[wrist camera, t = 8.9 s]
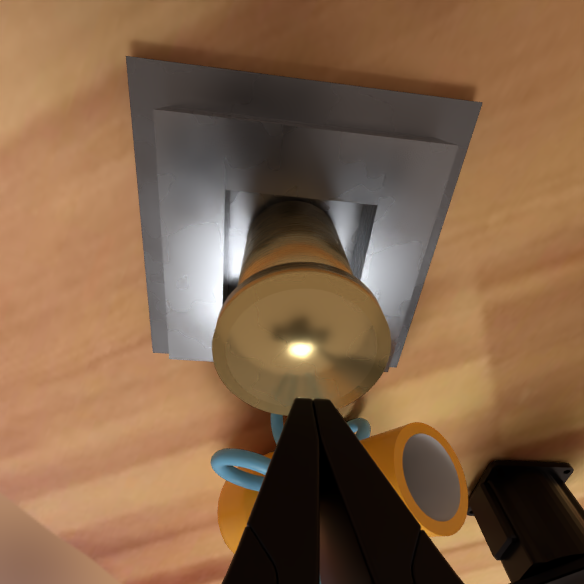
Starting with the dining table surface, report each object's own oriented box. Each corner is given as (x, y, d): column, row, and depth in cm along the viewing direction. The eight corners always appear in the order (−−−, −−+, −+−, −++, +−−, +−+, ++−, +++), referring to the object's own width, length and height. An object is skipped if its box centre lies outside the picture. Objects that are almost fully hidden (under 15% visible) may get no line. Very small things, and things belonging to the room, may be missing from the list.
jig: (473, 101, 16) (513, 105, 13) (392, 358, 22) (408, 394, 20) (133, 57, 14) (101, 51, 12) (157, 343, 21) (140, 380, 19)
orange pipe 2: (168, 429, 24) (282, 335, 14) (295, 407, 30) (440, 330, 20) (195, 669, 19) (409, 805, 9) (342, 585, 25) (571, 606, 15)
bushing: (356, 197, 17) (412, 283, 10) (336, 296, 19) (370, 419, 12) (240, 186, 16) (211, 266, 9) (236, 289, 19) (211, 412, 12)
